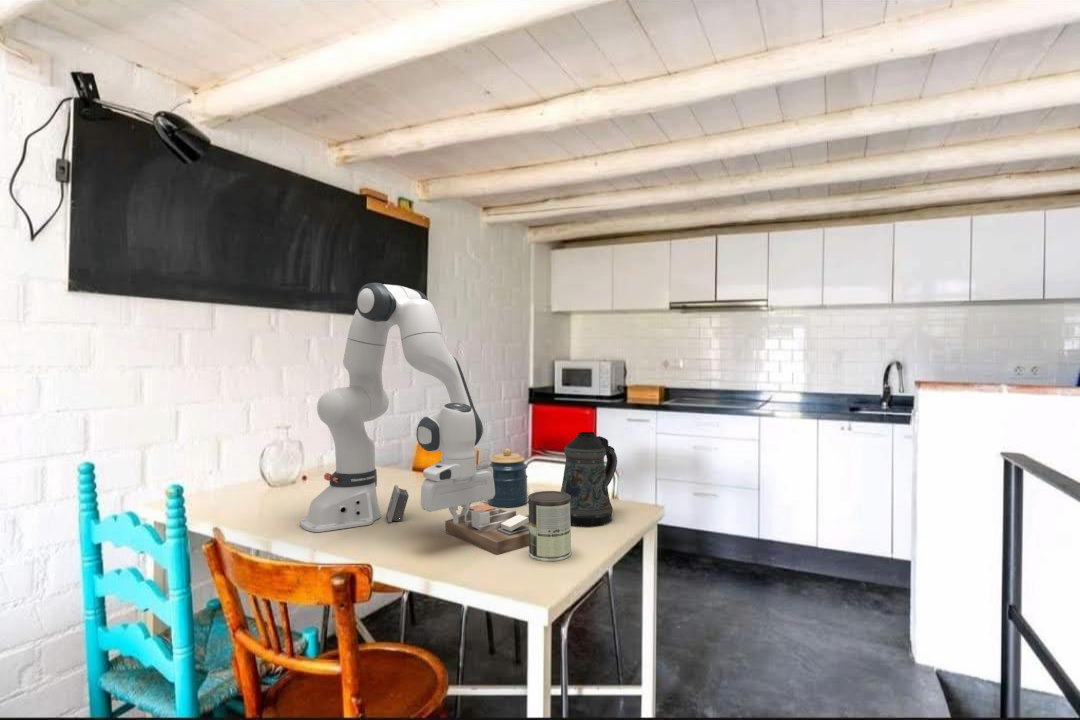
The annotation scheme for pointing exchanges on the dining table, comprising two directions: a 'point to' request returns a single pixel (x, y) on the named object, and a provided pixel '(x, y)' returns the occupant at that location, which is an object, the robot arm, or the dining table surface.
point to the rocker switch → (514, 522)
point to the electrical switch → (397, 504)
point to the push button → (482, 508)
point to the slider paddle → (480, 518)
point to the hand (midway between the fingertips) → (459, 522)
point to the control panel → (491, 532)
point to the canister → (509, 480)
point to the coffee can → (549, 525)
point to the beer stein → (589, 479)
